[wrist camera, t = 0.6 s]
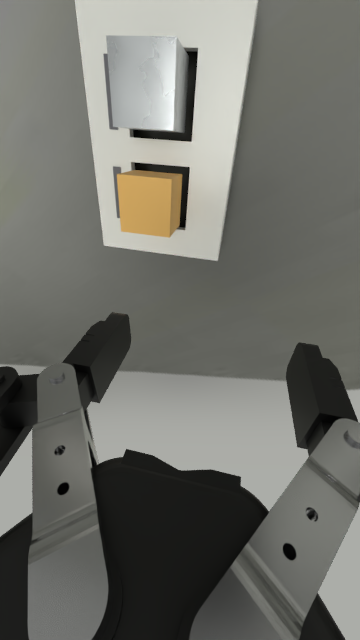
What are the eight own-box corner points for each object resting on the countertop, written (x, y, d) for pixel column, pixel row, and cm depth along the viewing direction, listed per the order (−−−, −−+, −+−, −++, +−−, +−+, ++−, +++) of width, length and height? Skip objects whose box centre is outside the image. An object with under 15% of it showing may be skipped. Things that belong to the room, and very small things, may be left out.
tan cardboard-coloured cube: (135, 169, 25) (116, 174, 21) (182, 174, 24) (171, 179, 21) (137, 220, 28) (121, 231, 24) (179, 225, 27) (169, 237, 23)
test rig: (107, 19, 24) (71, -14, 19) (256, 20, 22) (259, -16, 17) (123, 231, 36) (103, 246, 31) (221, 244, 34) (217, 261, 29)
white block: (130, 55, 20) (106, 35, 17) (189, 56, 20) (176, 36, 16) (133, 129, 23) (113, 126, 19) (184, 132, 22) (173, 130, 19)
